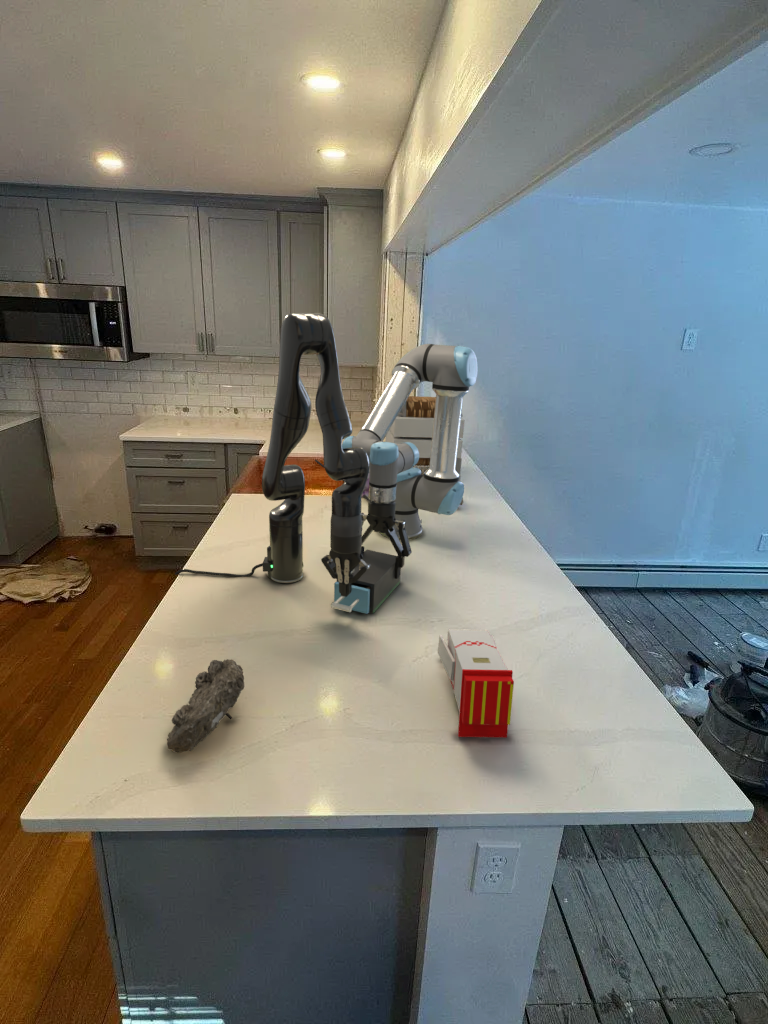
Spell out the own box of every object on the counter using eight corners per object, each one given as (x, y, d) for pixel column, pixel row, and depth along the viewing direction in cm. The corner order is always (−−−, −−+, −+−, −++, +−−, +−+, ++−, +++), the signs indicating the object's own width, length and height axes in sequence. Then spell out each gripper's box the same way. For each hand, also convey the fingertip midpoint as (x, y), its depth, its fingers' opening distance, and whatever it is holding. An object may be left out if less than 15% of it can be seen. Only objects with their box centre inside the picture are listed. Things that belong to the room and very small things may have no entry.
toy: (488, 613, 130) (523, 677, 101) (484, 667, 133) (517, 744, 104) (435, 612, 130) (455, 676, 101) (432, 666, 133) (451, 743, 103)
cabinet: (373, 613, 147) (374, 584, 144) (336, 604, 151) (336, 575, 148) (399, 583, 164) (401, 556, 161) (365, 575, 168) (366, 549, 165)
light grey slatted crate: (382, 463, 289) (386, 382, 275) (445, 464, 293) (451, 384, 279) (390, 482, 257) (394, 392, 243) (460, 483, 261) (468, 394, 247)
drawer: (357, 625, 140) (358, 601, 138) (323, 616, 143) (323, 593, 141) (393, 585, 161) (394, 564, 158) (362, 578, 164) (363, 557, 162)
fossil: (192, 660, 117) (244, 628, 112) (224, 691, 120) (276, 661, 115) (142, 746, 98) (202, 712, 93) (182, 779, 101) (242, 748, 96)
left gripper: (314, 530, 135) (314, 595, 140) (364, 540, 130) (363, 607, 136) (329, 521, 141) (328, 583, 147) (377, 530, 137) (375, 594, 142)
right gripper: (337, 496, 155) (336, 569, 163) (417, 510, 147) (412, 586, 155) (349, 489, 162) (348, 559, 169) (426, 502, 154) (421, 575, 161)
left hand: (345, 595), depth 141 cm, fingers closed
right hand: (378, 572), depth 162 cm, fingers closed on cabinet, 11 cm apart
